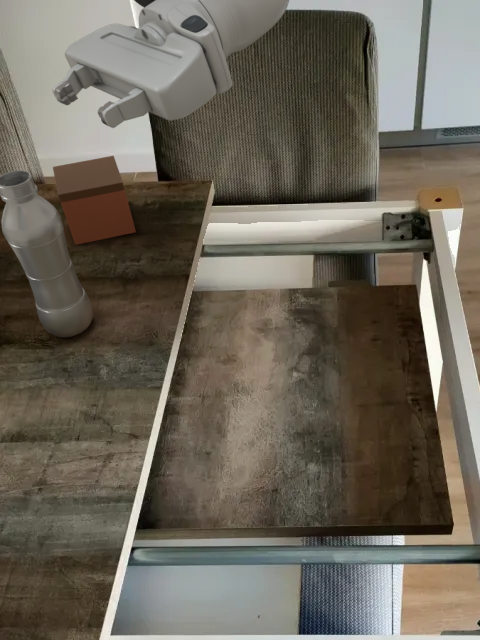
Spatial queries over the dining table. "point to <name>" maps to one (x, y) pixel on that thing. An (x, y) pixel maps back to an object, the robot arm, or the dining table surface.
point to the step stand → (93, 199)
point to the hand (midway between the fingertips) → (80, 108)
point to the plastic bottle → (43, 256)
